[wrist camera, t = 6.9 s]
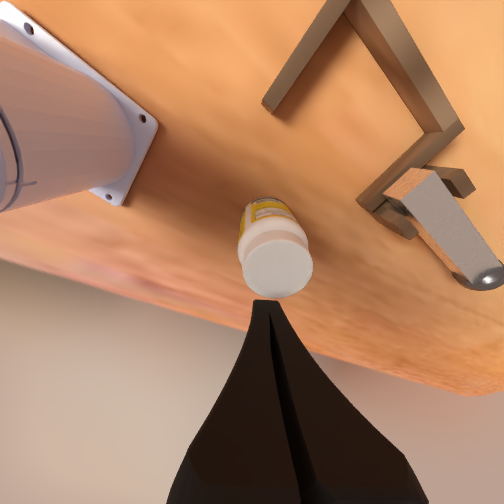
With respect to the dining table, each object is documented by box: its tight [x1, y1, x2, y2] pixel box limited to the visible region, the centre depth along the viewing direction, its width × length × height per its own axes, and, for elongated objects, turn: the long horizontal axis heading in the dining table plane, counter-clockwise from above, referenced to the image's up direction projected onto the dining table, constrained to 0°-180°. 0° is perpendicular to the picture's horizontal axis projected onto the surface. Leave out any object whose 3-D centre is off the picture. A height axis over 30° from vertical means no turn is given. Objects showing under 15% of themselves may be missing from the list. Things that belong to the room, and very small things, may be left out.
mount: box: [261, 0, 476, 240], centre depth 13 cm, size 14×8×4 cm, turn 51°
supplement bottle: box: [238, 197, 313, 298], centre depth 14 cm, size 5×5×8 cm
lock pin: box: [383, 168, 504, 291], centre depth 16 cm, size 13×3×3 cm, turn 51°
